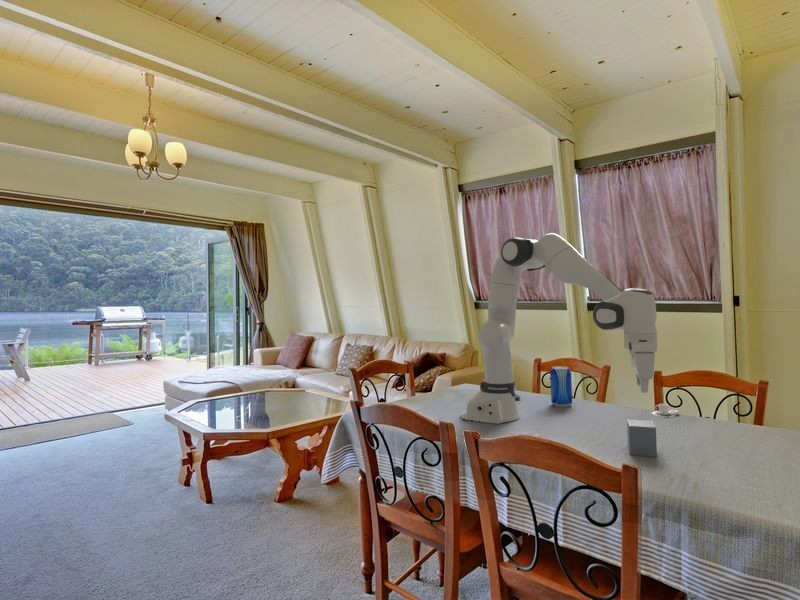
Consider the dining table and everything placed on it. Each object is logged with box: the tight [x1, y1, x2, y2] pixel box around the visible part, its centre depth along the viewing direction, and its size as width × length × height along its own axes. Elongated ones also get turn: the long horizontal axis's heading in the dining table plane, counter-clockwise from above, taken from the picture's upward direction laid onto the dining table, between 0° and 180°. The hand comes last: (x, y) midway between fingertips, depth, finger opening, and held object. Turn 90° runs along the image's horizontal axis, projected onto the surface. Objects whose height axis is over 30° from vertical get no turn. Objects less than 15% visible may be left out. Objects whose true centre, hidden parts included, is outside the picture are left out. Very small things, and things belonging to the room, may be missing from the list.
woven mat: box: [515, 392, 521, 401], centre depth 211 cm, size 10×11×2 cm
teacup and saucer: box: [651, 403, 680, 418], centre depth 175 cm, size 9×8×4 cm
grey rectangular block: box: [626, 418, 658, 458], centre depth 138 cm, size 7×7×9 cm
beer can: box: [549, 365, 573, 408], centre depth 195 cm, size 8×8×16 cm
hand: (642, 388), depth 137 cm, fingers open, 8 cm apart
